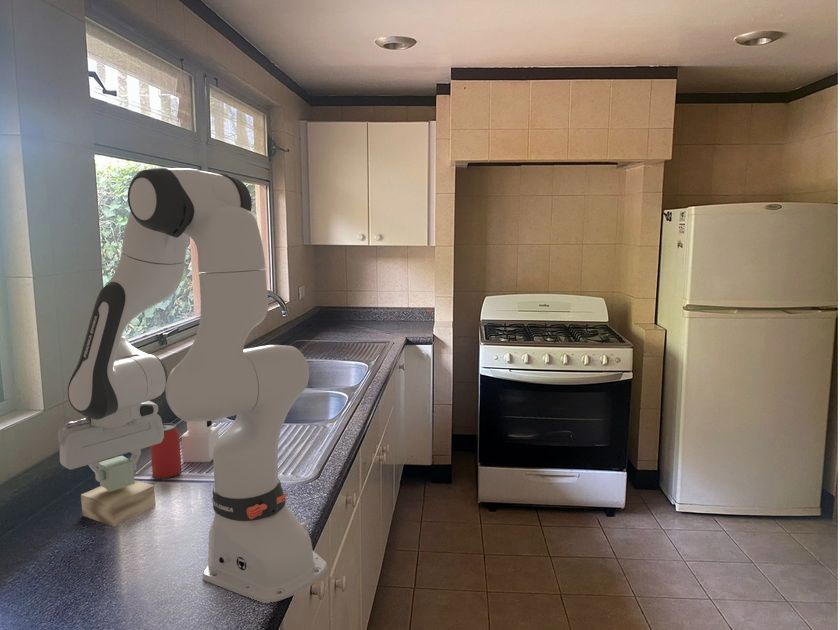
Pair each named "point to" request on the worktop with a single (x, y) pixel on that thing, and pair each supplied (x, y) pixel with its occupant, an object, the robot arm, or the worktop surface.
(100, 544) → the worktop surface
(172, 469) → the beer can
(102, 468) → the sage block
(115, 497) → the birch block
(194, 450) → the medicine bottle
